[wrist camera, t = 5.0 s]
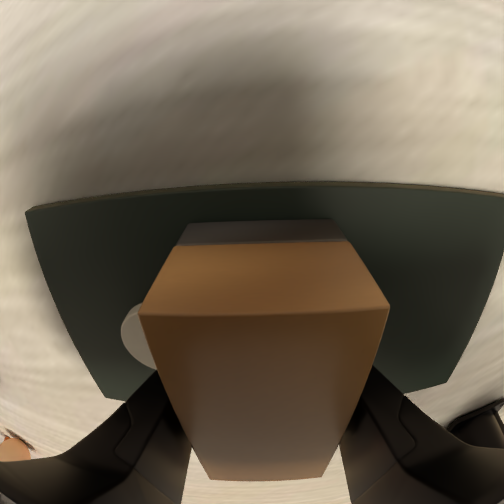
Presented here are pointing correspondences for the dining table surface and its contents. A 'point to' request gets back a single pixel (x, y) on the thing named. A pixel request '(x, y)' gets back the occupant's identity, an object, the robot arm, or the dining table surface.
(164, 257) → the chalkboard
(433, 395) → the dining table surface
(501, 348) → the dining table surface
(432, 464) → the robot arm
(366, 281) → the brown rectangular block
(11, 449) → the egg
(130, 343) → the beige disc
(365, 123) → the dining table surface
